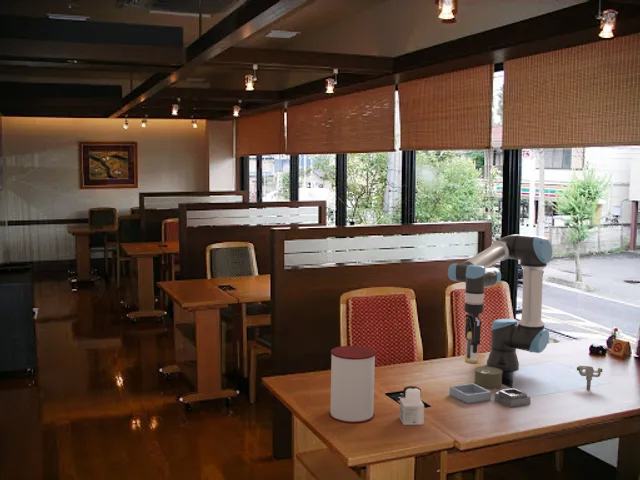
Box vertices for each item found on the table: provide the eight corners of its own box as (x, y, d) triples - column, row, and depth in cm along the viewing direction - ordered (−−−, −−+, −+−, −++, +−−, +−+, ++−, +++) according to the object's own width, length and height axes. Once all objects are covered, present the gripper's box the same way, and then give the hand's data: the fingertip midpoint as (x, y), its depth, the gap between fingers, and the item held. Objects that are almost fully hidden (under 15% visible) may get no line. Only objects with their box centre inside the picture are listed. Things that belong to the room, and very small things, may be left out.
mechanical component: (601, 391, 296) (602, 369, 295) (576, 389, 298) (577, 367, 297) (600, 389, 299) (601, 367, 298) (575, 387, 301) (576, 365, 300)
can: (506, 385, 302) (507, 370, 302) (493, 391, 294) (494, 376, 293) (482, 379, 310) (483, 364, 310) (468, 385, 302) (469, 370, 301)
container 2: (399, 417, 261) (400, 384, 260) (418, 417, 262) (420, 384, 261) (403, 425, 254) (404, 391, 252) (423, 424, 254) (424, 390, 253)
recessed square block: (494, 399, 283) (495, 389, 283) (513, 396, 287) (514, 386, 287) (510, 407, 274) (511, 397, 274) (530, 404, 278) (530, 394, 278)
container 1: (381, 421, 257) (382, 356, 254) (337, 425, 252) (338, 359, 250) (365, 405, 274) (366, 344, 271) (323, 409, 269) (324, 347, 266)
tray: (449, 394, 288) (449, 386, 288) (472, 391, 293) (473, 383, 293) (467, 404, 277) (467, 395, 277) (490, 400, 282) (491, 391, 282)
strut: (466, 363, 281) (468, 332, 279) (463, 360, 286) (464, 329, 284) (479, 363, 281) (480, 332, 280) (475, 360, 286) (476, 329, 285)
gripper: (490, 307, 272) (487, 364, 274) (476, 298, 290) (473, 352, 293) (471, 307, 271) (469, 364, 274) (458, 298, 289) (456, 352, 292)
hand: (471, 357), depth 283 cm, fingers closed on strut, 5 cm apart
